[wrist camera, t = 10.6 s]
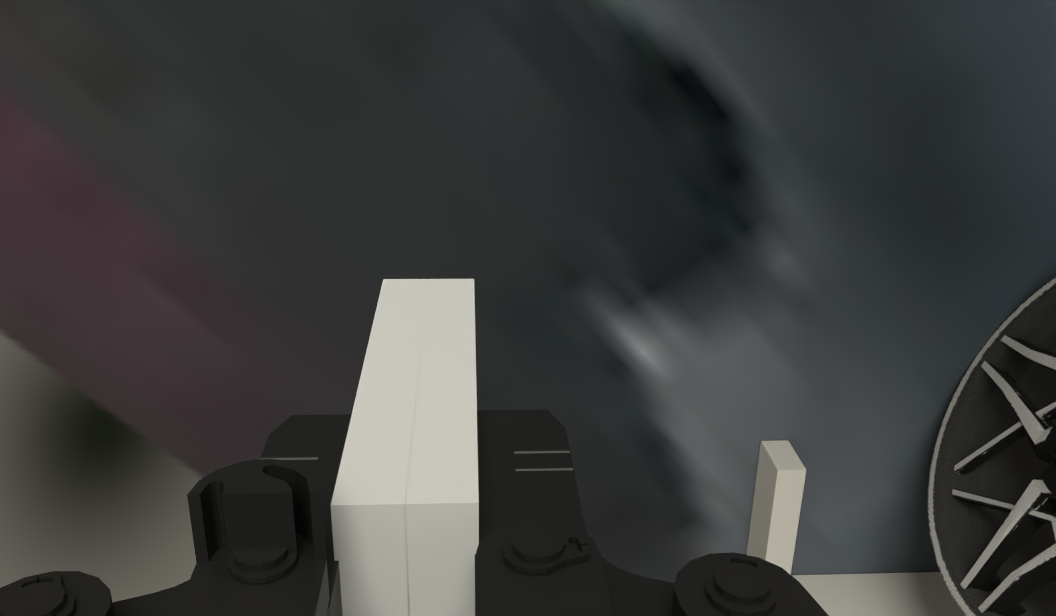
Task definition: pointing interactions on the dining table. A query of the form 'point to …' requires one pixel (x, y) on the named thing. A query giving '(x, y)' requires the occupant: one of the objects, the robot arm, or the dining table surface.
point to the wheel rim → (1001, 471)
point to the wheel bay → (849, 599)
